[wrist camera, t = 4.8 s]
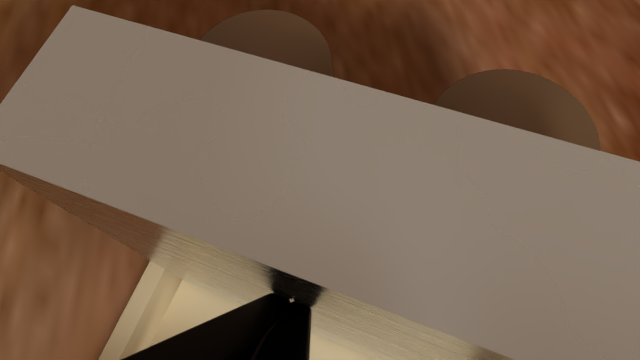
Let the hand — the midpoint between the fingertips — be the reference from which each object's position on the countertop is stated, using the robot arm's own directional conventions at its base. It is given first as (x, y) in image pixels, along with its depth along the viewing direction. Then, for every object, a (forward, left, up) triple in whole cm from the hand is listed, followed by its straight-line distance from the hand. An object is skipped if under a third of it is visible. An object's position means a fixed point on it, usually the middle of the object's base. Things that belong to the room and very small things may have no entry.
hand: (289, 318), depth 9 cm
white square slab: (+1, -1, -7) cm, 7 cm away
